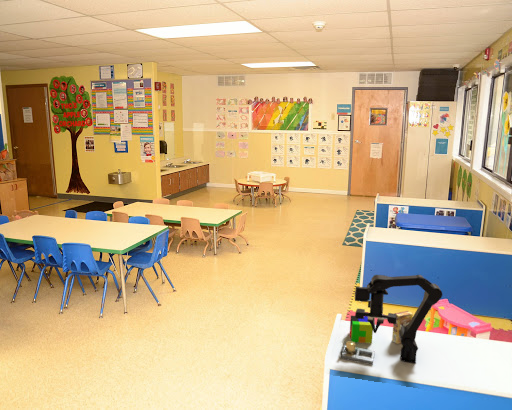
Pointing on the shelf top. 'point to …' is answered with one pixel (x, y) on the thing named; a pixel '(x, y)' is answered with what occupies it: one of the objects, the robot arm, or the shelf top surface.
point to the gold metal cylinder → (350, 348)
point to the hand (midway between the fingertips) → (374, 332)
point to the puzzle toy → (361, 330)
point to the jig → (357, 357)
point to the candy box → (400, 324)
